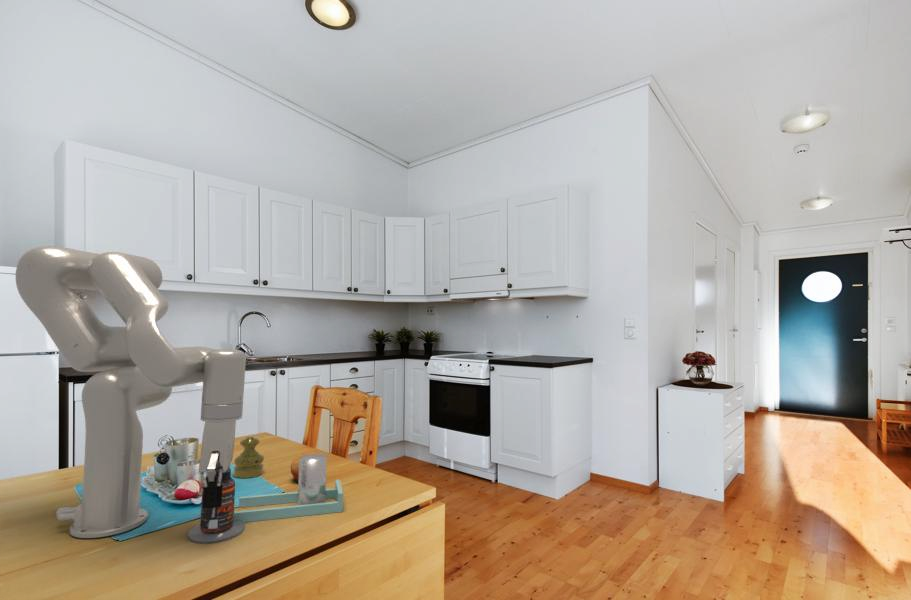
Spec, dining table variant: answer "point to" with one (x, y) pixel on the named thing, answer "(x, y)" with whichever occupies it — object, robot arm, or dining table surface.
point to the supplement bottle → (220, 508)
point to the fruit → (297, 466)
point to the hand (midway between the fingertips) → (216, 497)
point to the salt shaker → (248, 460)
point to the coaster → (202, 537)
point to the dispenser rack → (288, 510)
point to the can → (312, 479)
